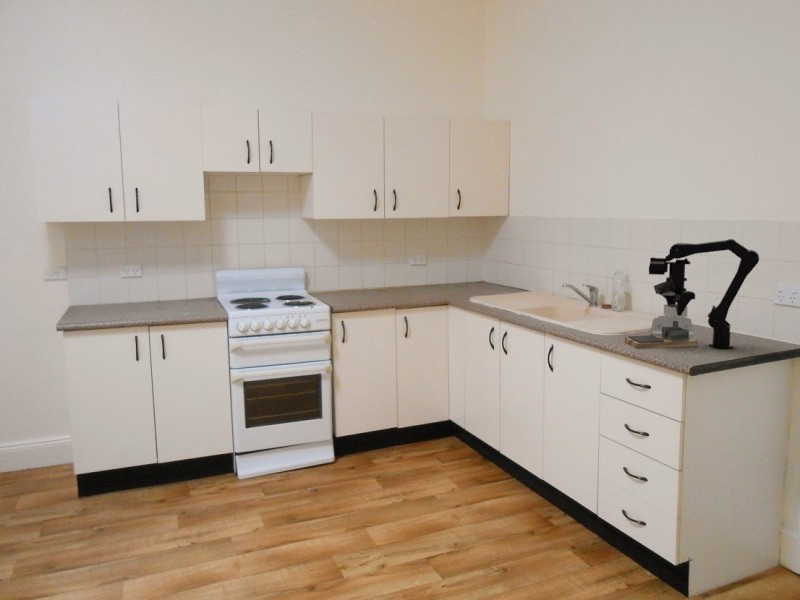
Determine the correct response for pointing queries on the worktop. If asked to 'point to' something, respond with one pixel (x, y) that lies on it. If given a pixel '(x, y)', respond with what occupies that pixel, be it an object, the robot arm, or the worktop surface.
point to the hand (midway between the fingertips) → (675, 314)
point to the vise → (667, 338)
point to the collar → (673, 311)
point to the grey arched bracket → (671, 324)
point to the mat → (646, 339)
